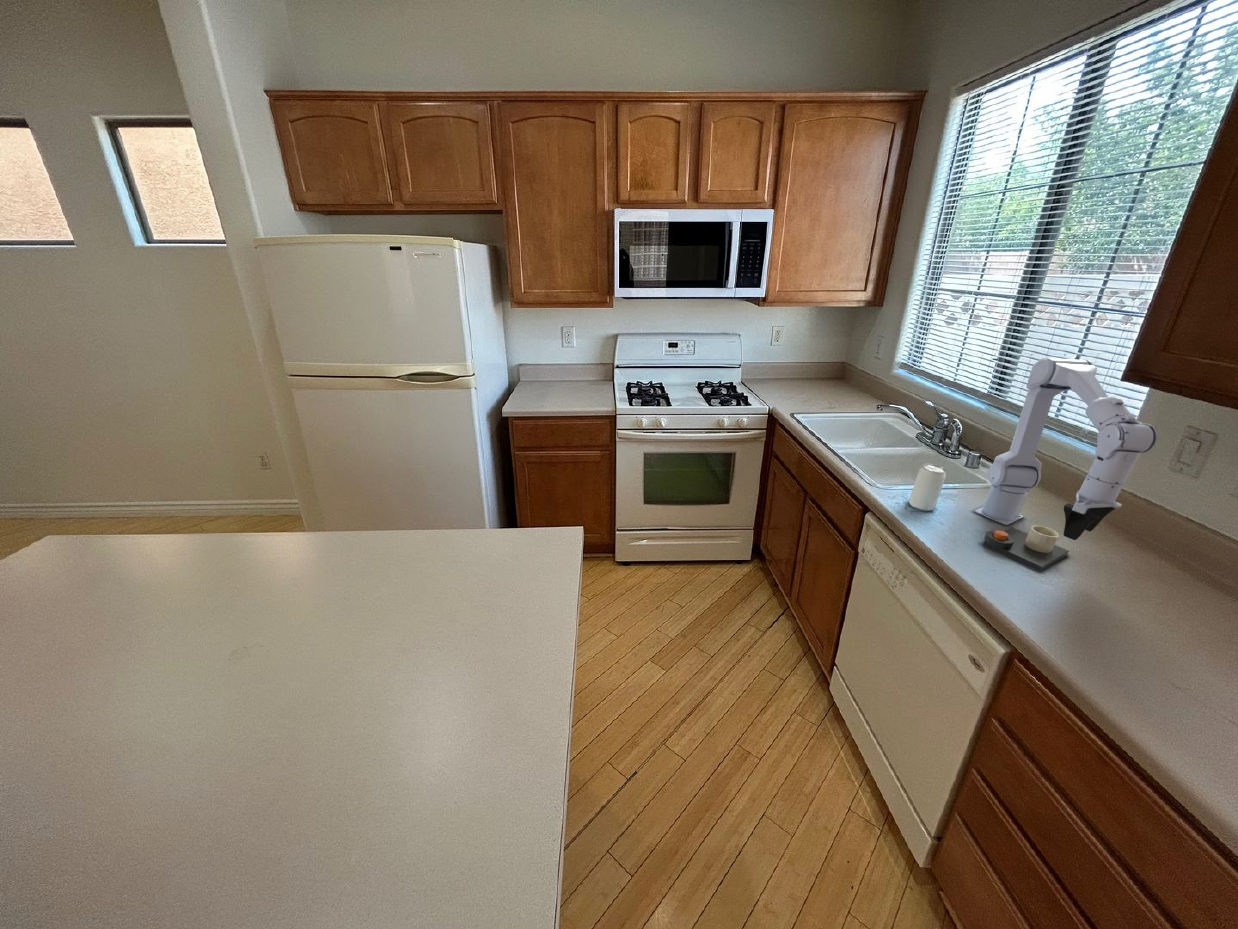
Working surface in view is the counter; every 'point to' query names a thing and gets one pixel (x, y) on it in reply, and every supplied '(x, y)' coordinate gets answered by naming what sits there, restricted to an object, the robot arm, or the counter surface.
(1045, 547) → the bowl
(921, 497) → the can
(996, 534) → the tare button
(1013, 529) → the scale
